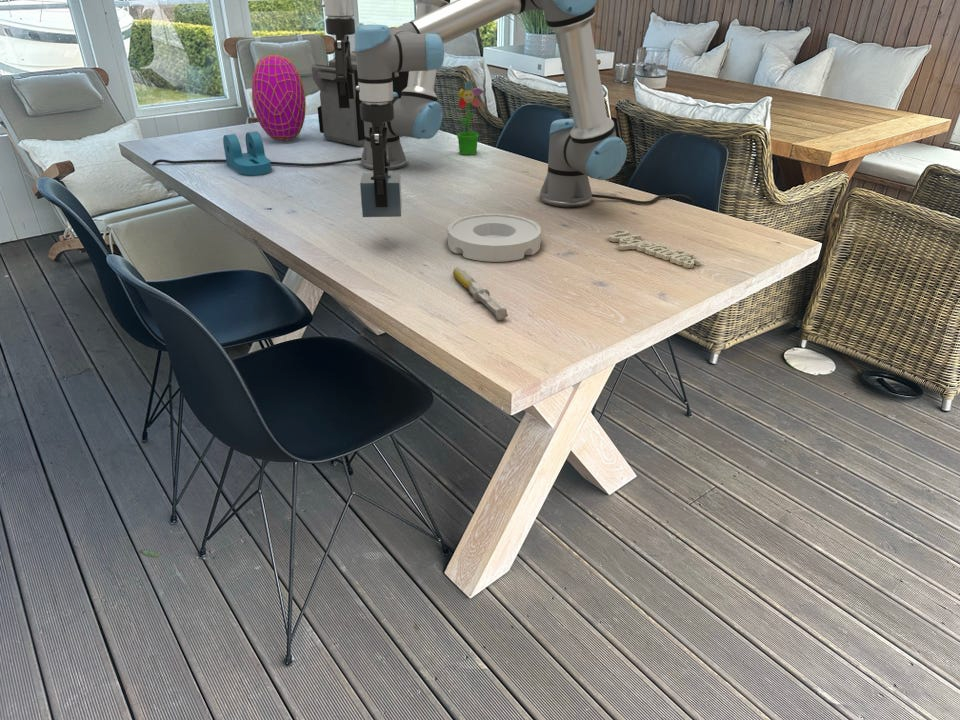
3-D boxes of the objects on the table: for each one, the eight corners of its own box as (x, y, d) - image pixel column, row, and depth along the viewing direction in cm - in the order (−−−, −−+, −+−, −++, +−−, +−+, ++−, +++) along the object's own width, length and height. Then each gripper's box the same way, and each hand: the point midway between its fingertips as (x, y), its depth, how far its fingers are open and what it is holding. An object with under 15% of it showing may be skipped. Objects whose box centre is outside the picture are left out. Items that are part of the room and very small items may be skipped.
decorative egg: (293, 132, 276) (283, 50, 261) (319, 140, 264) (310, 56, 249) (249, 139, 265) (236, 54, 250) (273, 148, 253) (261, 60, 238)
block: (401, 205, 170) (400, 172, 166) (401, 216, 163) (399, 182, 159) (365, 205, 170) (362, 172, 166) (362, 217, 162) (360, 183, 158)
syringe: (449, 274, 155) (449, 263, 153) (465, 272, 156) (464, 260, 154) (490, 323, 135) (491, 310, 133) (508, 319, 136) (508, 307, 134)
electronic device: (380, 124, 291) (375, 47, 275) (420, 131, 280) (417, 51, 264) (314, 140, 265) (305, 55, 250) (356, 148, 254) (349, 60, 239)
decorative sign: (595, 237, 174) (620, 228, 179) (594, 240, 174) (619, 231, 180) (683, 268, 157) (708, 257, 162) (683, 272, 157) (707, 261, 163)
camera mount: (227, 164, 233) (221, 132, 227) (257, 160, 238) (252, 129, 233) (244, 176, 220) (239, 143, 215) (276, 172, 225) (271, 139, 220)
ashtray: (450, 227, 182) (450, 212, 180) (538, 229, 181) (539, 214, 179) (444, 260, 162) (444, 244, 160) (542, 262, 161) (543, 246, 159)
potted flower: (461, 156, 246) (461, 82, 233) (452, 151, 252) (451, 78, 239) (485, 153, 249) (486, 80, 237) (475, 148, 255) (475, 77, 243)
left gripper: (330, 13, 189) (337, 95, 200) (319, 21, 168) (327, 112, 178) (357, 14, 190) (363, 95, 200) (350, 21, 168) (357, 111, 179)
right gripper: (362, 93, 163) (369, 187, 174) (355, 111, 144) (363, 215, 155) (394, 93, 163) (399, 187, 174) (391, 111, 144) (397, 214, 156)
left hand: (346, 103), depth 189 cm, fingers open, 13 cm apart
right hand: (382, 200), depth 165 cm, fingers closed on block, 9 cm apart
